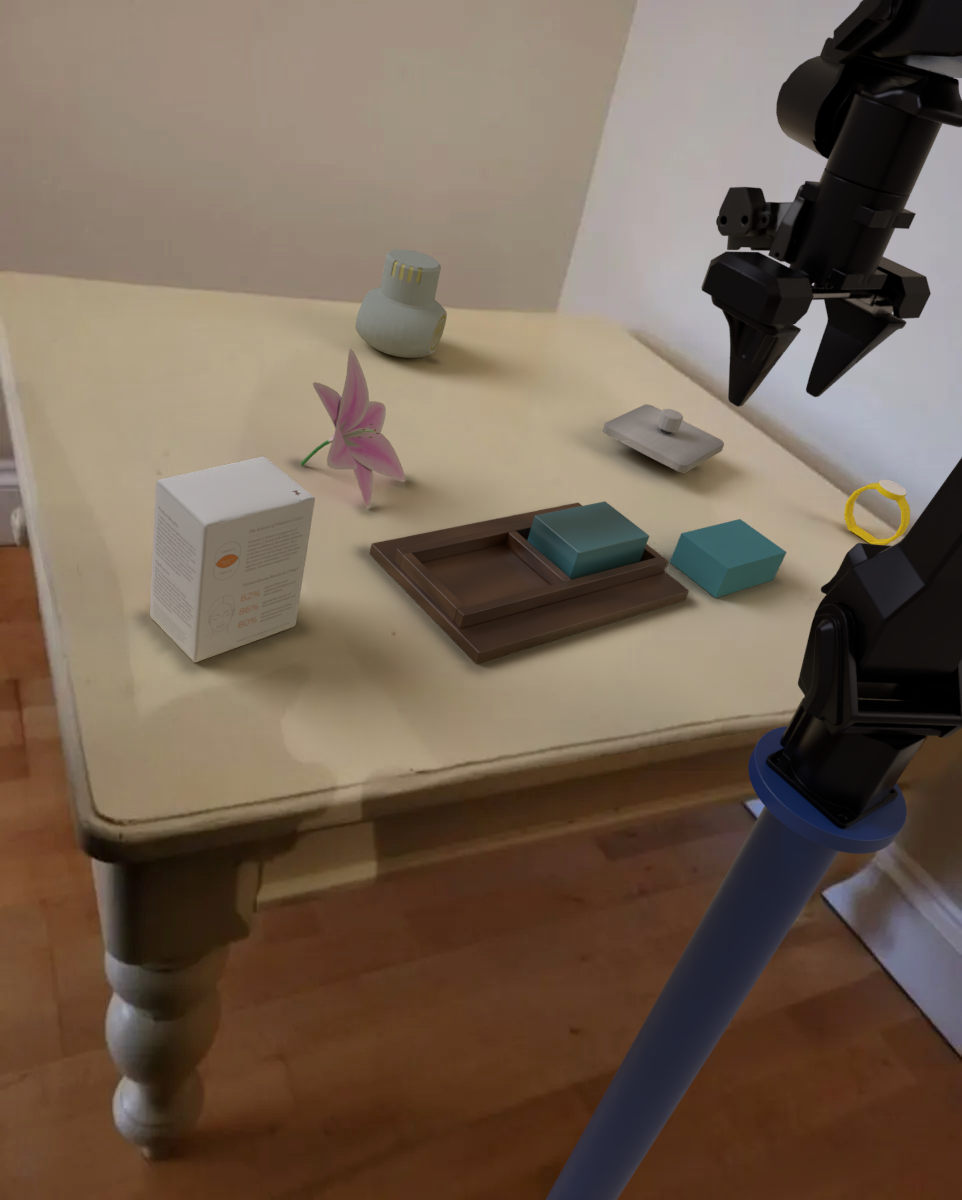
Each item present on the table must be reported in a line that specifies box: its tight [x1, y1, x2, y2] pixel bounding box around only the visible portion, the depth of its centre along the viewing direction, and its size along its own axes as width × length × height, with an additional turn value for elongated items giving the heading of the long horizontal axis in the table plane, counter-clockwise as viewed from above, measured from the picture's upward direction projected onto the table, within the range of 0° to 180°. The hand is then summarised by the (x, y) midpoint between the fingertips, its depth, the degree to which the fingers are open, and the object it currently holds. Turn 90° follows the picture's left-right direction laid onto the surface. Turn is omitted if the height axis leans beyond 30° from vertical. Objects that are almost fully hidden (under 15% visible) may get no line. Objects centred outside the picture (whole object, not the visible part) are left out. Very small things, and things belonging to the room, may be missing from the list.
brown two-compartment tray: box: [369, 501, 690, 664], centre depth 80 cm, size 14×22×4 cm, turn 127°
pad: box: [669, 518, 787, 599], centre depth 88 cm, size 6×8×3 cm
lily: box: [300, 348, 406, 510], centre depth 85 cm, size 12×12×10 cm
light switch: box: [602, 403, 725, 473], centre depth 104 cm, size 10×10×5 cm
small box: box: [149, 455, 316, 663], centre depth 65 cm, size 8×6×10 cm
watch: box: [843, 479, 911, 545], centre depth 99 cm, size 6×3×6 cm, turn 46°
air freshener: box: [355, 248, 448, 359], centre depth 110 cm, size 11×8×10 cm
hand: (774, 399), depth 75 cm, fingers open, 9 cm apart
